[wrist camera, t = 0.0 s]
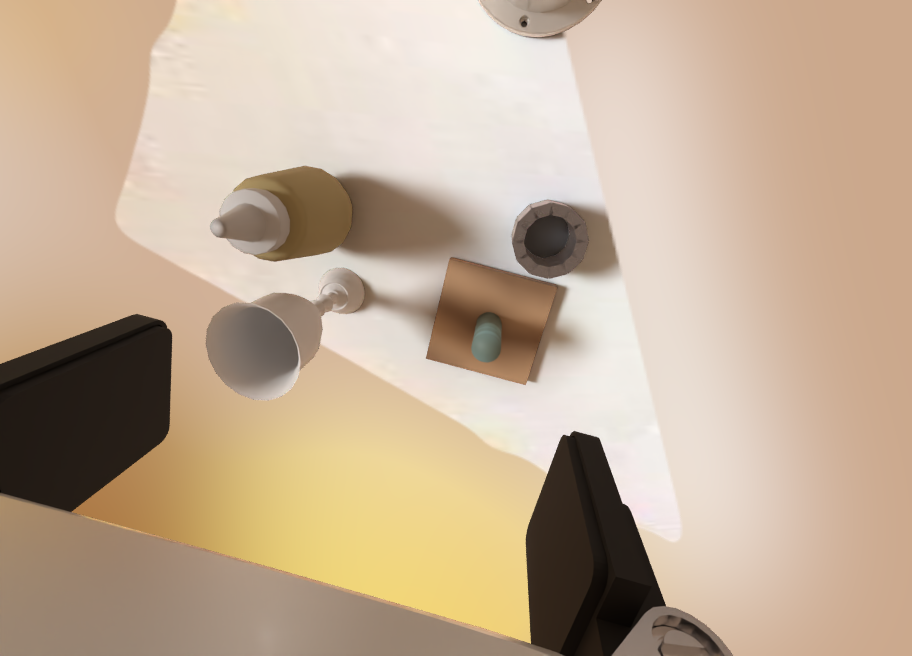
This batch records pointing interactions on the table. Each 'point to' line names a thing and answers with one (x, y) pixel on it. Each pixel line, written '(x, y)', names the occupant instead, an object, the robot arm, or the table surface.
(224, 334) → the chalice
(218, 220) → the squeeze bottle
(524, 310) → the post stand
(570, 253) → the ring
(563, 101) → the table surface
